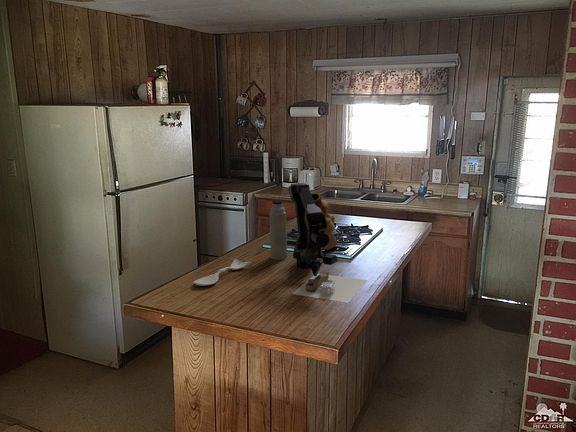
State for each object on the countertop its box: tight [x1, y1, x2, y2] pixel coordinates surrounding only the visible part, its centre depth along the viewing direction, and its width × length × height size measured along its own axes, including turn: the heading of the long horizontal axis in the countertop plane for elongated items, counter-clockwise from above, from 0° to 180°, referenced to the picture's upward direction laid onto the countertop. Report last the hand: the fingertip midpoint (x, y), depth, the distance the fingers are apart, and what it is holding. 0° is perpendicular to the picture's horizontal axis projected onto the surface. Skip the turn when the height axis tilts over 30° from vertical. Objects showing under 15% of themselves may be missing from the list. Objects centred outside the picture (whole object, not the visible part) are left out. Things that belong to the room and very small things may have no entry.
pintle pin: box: [307, 278, 314, 285], centre depth 193 cm, size 2×2×2 cm
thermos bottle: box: [268, 200, 288, 261], centre depth 235 cm, size 8×8×28 cm
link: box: [306, 271, 330, 292], centre depth 199 cm, size 19×4×2 cm, turn 154°
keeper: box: [320, 280, 335, 296], centre depth 191 cm, size 5×8×4 cm
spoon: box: [193, 258, 251, 287], centre depth 214 cm, size 9×32×4 cm, turn 148°
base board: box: [292, 272, 369, 304], centre depth 197 cm, size 23×25×1 cm
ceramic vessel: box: [311, 193, 339, 250], centre depth 244 cm, size 16×22×30 cm
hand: (315, 276), depth 206 cm, fingers closed
